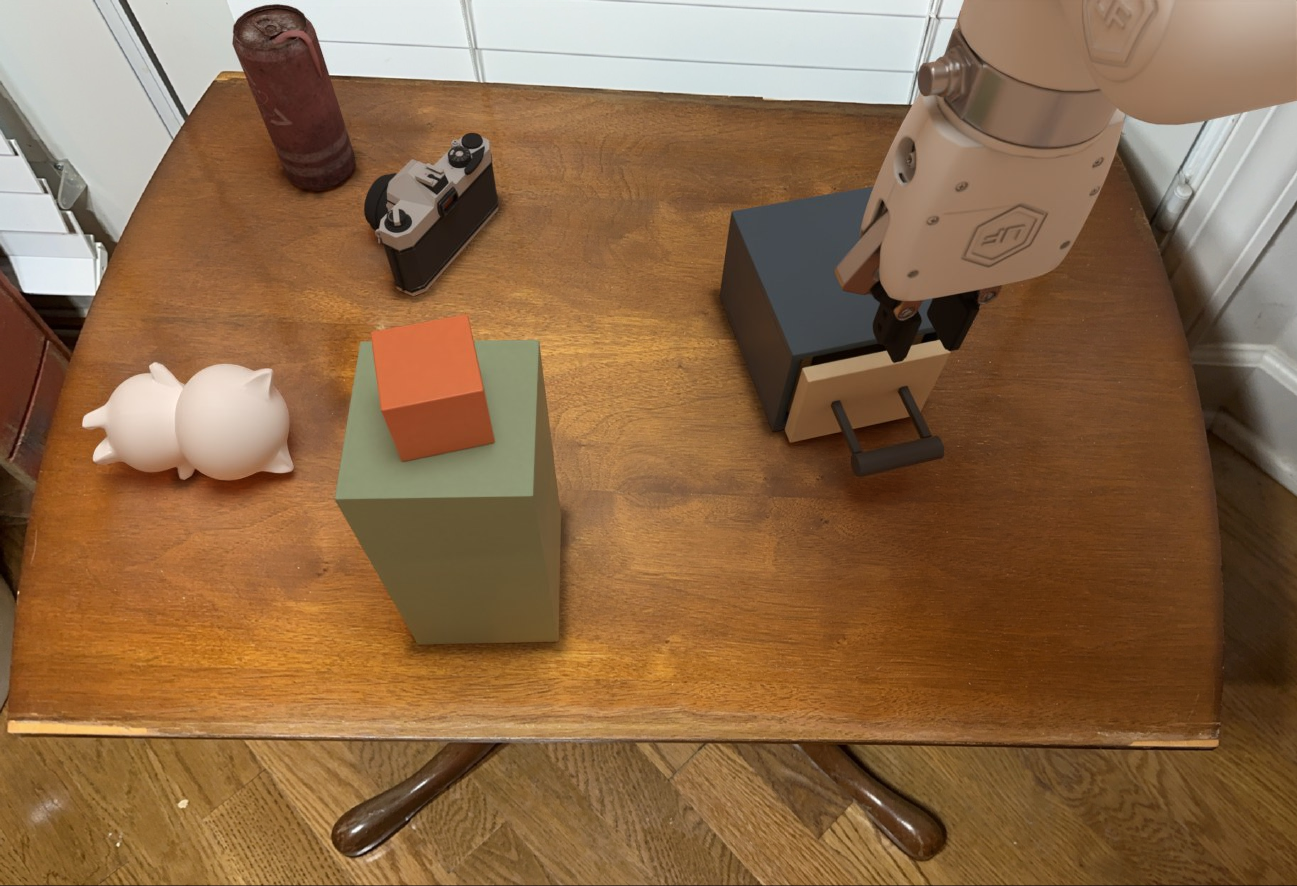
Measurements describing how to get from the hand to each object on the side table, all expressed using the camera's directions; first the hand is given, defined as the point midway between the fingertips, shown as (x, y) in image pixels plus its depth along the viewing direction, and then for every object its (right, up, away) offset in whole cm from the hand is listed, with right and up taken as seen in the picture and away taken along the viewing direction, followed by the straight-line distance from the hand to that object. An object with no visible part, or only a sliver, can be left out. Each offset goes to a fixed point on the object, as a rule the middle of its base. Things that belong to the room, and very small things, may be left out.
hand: (915, 336), depth 55 cm
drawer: (-2, -3, +14) cm, 14 cm away
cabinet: (-3, +1, +17) cm, 18 cm away
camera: (-34, +11, +22) cm, 42 cm away
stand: (-26, -15, +6) cm, 31 cm away
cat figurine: (-47, -6, +12) cm, 49 cm away
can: (-45, +18, +26) cm, 55 cm away
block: (-26, -5, -11) cm, 28 cm away
